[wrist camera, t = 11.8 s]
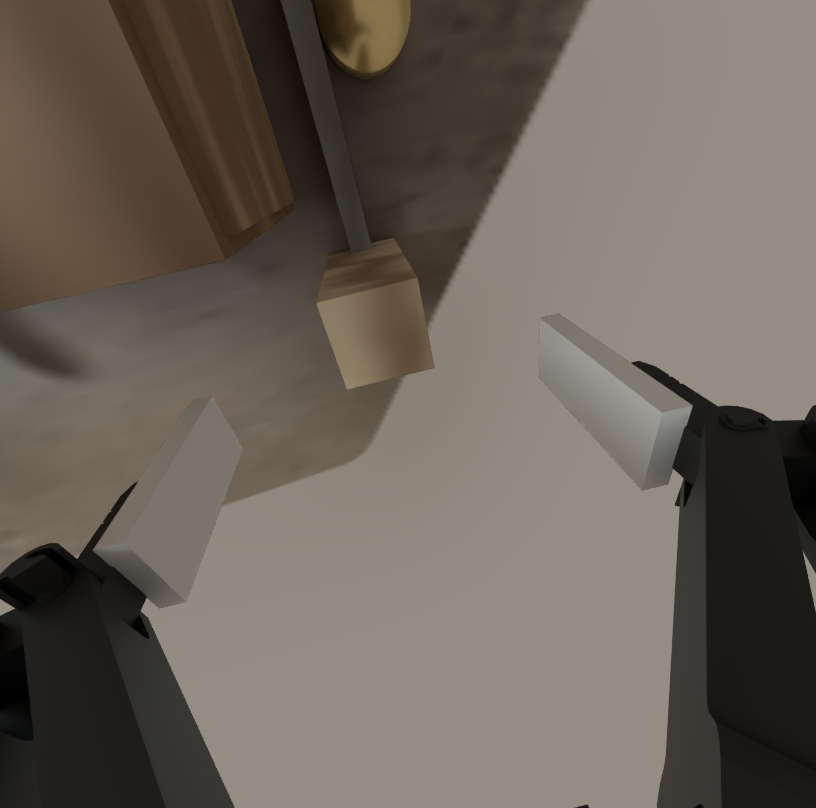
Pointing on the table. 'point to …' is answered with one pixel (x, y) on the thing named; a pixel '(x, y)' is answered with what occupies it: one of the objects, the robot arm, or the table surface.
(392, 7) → the token
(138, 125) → the cabinet
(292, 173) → the table surface
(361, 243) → the blade tool
